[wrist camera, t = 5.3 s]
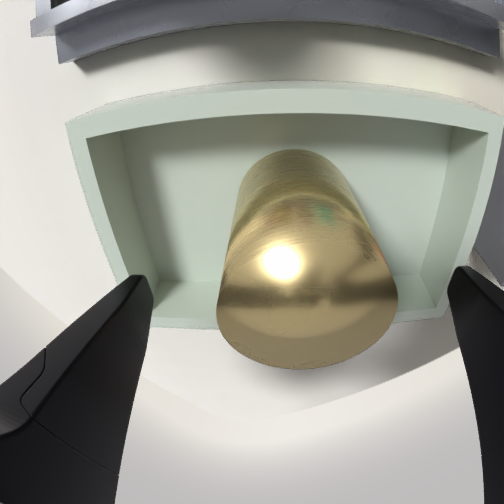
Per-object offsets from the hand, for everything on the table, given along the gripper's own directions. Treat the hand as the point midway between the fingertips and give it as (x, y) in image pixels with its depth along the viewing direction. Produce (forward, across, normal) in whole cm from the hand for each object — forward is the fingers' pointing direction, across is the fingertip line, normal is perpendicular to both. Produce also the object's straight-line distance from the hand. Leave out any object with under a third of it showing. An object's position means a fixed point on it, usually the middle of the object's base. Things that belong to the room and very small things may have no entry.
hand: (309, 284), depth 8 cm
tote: (+5, 0, 0) cm, 5 cm away
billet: (+5, 0, 0) cm, 5 cm away
